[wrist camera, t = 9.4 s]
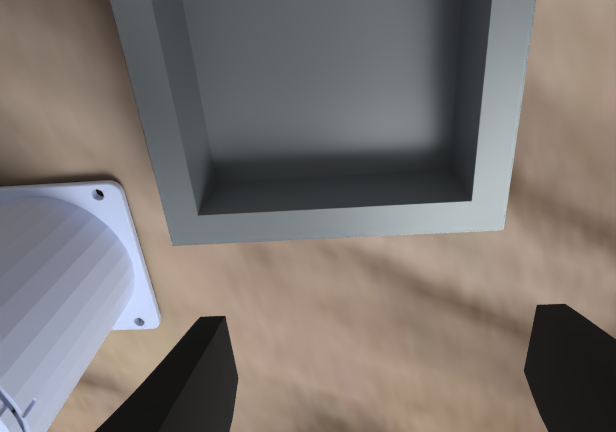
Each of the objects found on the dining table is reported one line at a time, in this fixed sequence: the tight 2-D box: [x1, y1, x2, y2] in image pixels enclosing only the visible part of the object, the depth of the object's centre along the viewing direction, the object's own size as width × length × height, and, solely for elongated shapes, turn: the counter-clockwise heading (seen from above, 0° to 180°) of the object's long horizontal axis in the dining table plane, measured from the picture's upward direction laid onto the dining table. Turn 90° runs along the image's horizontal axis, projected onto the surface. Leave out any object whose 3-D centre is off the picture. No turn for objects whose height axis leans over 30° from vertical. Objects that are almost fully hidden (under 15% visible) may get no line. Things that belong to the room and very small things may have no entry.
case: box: [110, 0, 536, 246], centre depth 15 cm, size 12×10×4 cm
